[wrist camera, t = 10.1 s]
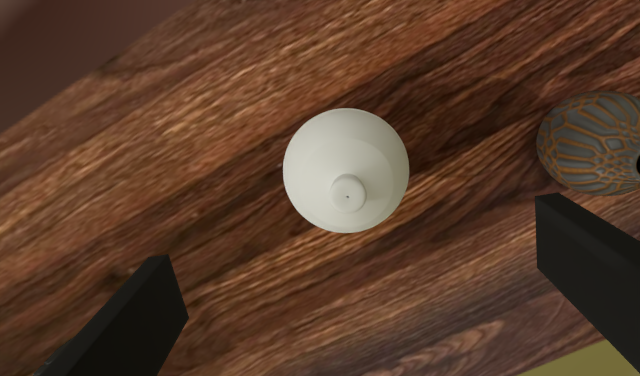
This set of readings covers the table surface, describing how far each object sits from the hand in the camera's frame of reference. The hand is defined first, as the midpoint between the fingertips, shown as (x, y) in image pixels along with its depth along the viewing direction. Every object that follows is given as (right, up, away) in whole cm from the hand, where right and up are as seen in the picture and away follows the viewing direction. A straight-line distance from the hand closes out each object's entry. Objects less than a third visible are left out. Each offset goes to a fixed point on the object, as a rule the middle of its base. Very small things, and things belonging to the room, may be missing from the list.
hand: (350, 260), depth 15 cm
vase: (+18, +7, +17) cm, 25 cm away
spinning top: (+1, +6, +18) cm, 19 cm away
